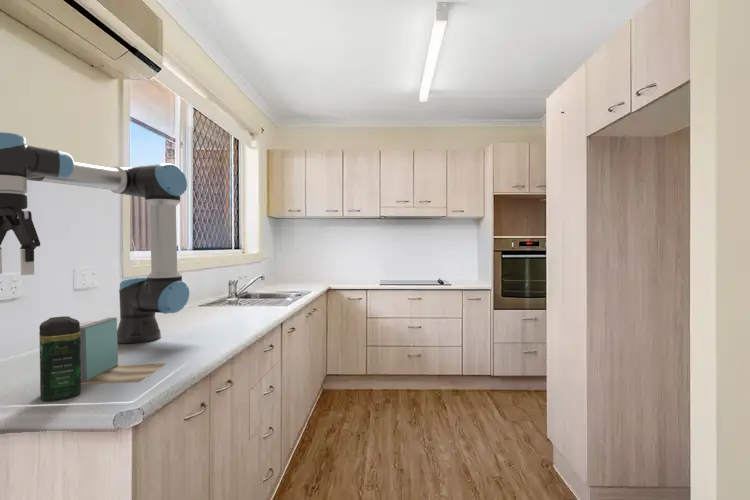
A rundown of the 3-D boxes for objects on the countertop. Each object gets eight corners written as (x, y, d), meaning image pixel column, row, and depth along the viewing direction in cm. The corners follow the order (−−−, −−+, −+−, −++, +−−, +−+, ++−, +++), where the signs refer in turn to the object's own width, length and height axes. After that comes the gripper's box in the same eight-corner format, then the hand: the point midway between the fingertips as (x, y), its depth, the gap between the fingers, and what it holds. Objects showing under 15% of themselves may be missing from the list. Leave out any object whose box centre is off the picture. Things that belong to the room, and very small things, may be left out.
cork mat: (105, 366, 130) (105, 364, 130) (168, 364, 131) (168, 363, 131) (65, 385, 112) (65, 384, 112) (139, 383, 113) (139, 381, 113)
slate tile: (110, 365, 129) (108, 317, 129) (118, 365, 129) (117, 317, 129) (76, 382, 113) (74, 327, 113) (85, 382, 113) (84, 327, 113)
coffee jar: (83, 398, 103) (81, 317, 103) (40, 405, 98) (38, 321, 98) (80, 387, 111) (78, 313, 110) (40, 394, 106) (38, 316, 106)
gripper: (-37, 194, 118) (-35, 275, 118) (23, 189, 108) (25, 276, 109) (-4, 197, 124) (-2, 273, 125) (55, 192, 115) (57, 274, 116)
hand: (11, 274), depth 117 cm, fingers open, 13 cm apart
